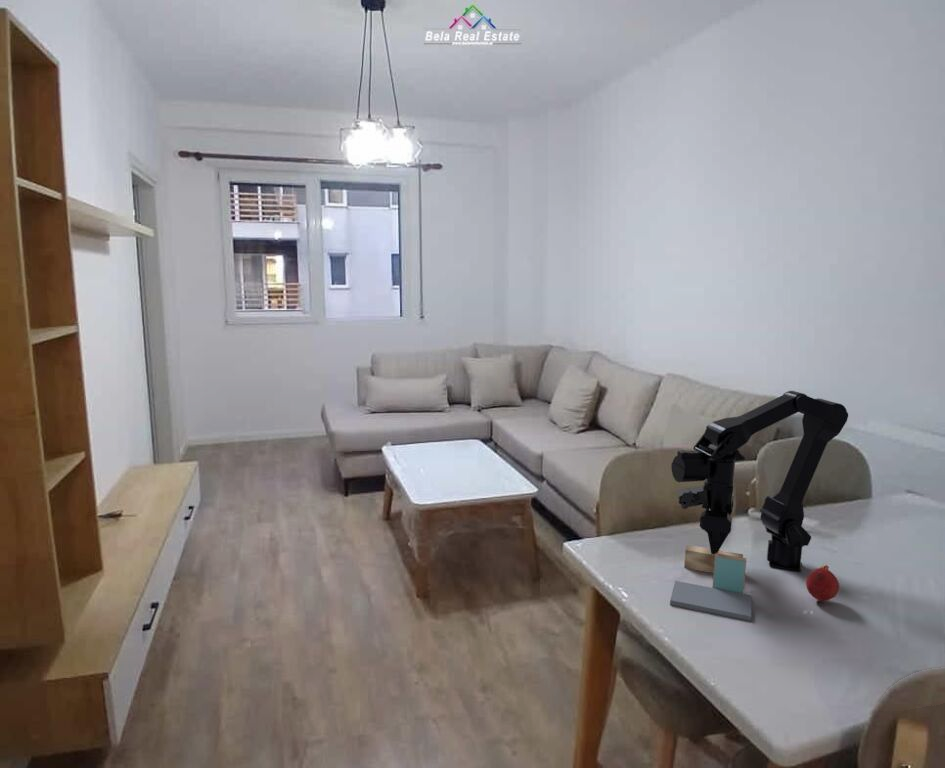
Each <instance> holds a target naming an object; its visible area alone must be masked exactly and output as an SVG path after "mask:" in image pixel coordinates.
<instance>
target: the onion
mask: <svg viewBox="0 0 945 768" xmlns="http://www.w3.org/2000/svg"><path fill="white" fill-rule="evenodd" d="M805 586H806V589H807V592H808V593H809V594H810V595H811V596H812V597H813V599H816V600H817V601H818V602H819V603H824V602H827V601H829V600H832V599H833V598H836V596H837V595H838V593H839V589H840V582H839V580H838V579H837V577H836V575H835V574H834V573H833V572H832V571H830V570H829V566H828V565H827V564H822V565H821V566H820V567H819V568H816V569H814V570H812V571H810V573H809V574H808V575H807V576H806V580H805Z"/></svg>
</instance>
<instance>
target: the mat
mask: <svg viewBox="0 0 945 768" xmlns="http://www.w3.org/2000/svg"><path fill="white" fill-rule="evenodd" d="M752 596H753V595H752V594H747V593H744V594H743V593H738V592H732V591H727V590H722V589H717V588H713V587H709V586H707V585H700V584H694V583H689V582H684V581H680V580H675V581H674V584H673V588H672V592H671V596H670V600H669V601H670V603H669V605H671V606H675V607H680V608H685V609H690V610H695V611H699V612H703V613H709V614H712V615H713V614H714V615H719V616H722V617H723V616H725V617H728V618H732V619H733V618H734V619H738V620H739V619H740V620H744V621H748V622H751V621H752Z"/></svg>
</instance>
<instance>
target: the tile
mask: <svg viewBox="0 0 945 768" xmlns="http://www.w3.org/2000/svg"><path fill="white" fill-rule="evenodd" d="M746 566H747V558H746V557H743V558H742V557H736V556H730V555H724V554H718V553H715V562H714V573H713V579H712V588H717V589H722V590H727V591H732V592H738V593H743V594H745V593H744V592H745V580H746V579H745V578H746V569H747V567H746Z"/></svg>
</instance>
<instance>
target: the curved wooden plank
mask: <svg viewBox="0 0 945 768" xmlns="http://www.w3.org/2000/svg"><path fill="white" fill-rule="evenodd" d="M684 551H685V552H684V563H683V564H684V569H689V570H695V571H701V572H707V573H710V574H711V573H712V574H714V562H715V554H711V550H710V548H707V547H701V546H696V545H690V544H686V547H685V550H684ZM718 554H724V555H730V556H736V557H742V558H744V554H743V553H738V552H737V553H736V552H731V551H725V550H720V549H719V551H718Z"/></svg>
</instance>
